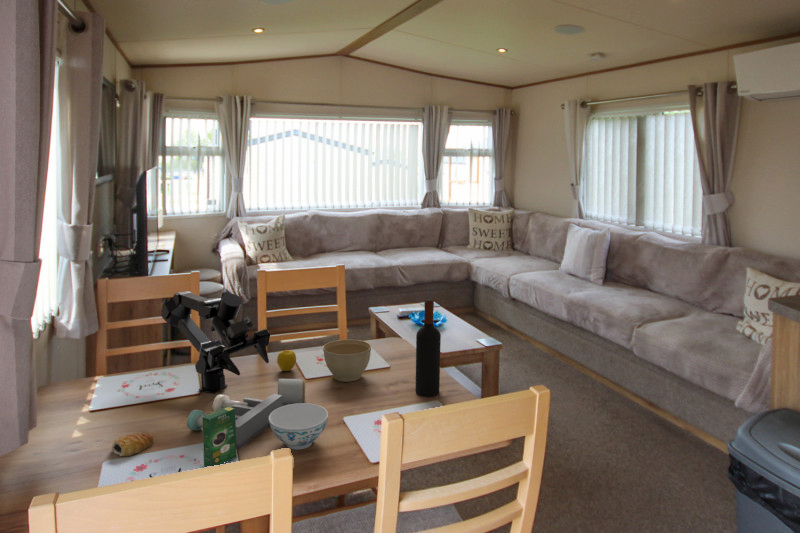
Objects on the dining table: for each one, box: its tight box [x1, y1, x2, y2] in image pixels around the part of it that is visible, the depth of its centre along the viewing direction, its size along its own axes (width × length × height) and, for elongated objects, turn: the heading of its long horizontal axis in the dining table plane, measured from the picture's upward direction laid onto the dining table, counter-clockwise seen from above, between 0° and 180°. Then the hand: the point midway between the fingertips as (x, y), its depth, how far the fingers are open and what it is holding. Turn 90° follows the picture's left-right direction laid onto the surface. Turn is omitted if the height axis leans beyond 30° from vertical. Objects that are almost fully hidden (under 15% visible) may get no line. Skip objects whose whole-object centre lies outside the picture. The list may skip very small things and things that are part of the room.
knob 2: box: [212, 393, 248, 412], centre depth 162 cm, size 9×5×5 cm, turn 71°
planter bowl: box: [322, 339, 372, 383], centre depth 191 cm, size 16×16×11 cm
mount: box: [232, 393, 283, 450], centre depth 155 cm, size 11×21×6 cm, turn 161°
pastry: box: [111, 432, 154, 457], centre depth 144 cm, size 9×7×4 cm
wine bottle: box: [414, 298, 442, 398], centre depth 177 cm, size 8×8×30 cm
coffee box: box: [202, 406, 238, 468], centre depth 136 cm, size 8×3×13 cm, turn 147°
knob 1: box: [186, 409, 207, 432], centre depth 152 cm, size 9×5×5 cm, turn 71°
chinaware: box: [269, 402, 329, 450], centre depth 146 cm, size 15×15×8 cm
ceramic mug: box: [277, 378, 306, 406], centre depth 172 cm, size 11×8×8 cm
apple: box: [276, 349, 297, 372], centre depth 197 cm, size 6×6×8 cm
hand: (254, 368), depth 163 cm, fingers open, 9 cm apart
